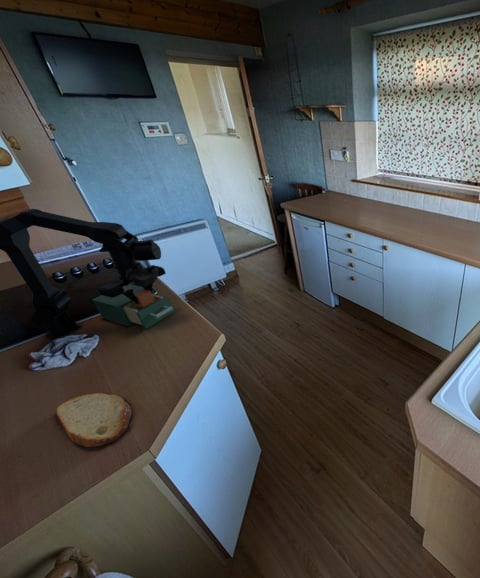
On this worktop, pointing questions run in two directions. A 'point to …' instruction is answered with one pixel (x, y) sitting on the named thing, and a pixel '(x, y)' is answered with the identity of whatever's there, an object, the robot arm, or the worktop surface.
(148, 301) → the block
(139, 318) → the drawer
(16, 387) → the worktop surface
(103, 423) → the bread slice
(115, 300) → the cabinet
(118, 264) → the robot arm
